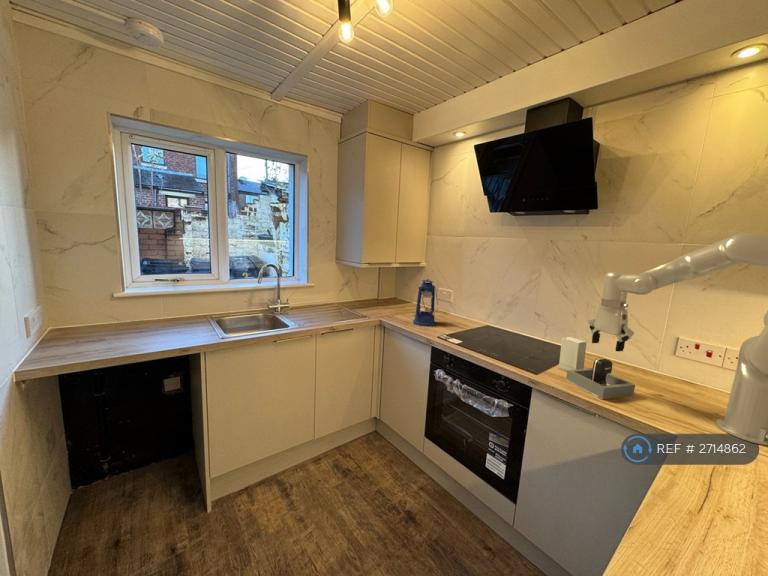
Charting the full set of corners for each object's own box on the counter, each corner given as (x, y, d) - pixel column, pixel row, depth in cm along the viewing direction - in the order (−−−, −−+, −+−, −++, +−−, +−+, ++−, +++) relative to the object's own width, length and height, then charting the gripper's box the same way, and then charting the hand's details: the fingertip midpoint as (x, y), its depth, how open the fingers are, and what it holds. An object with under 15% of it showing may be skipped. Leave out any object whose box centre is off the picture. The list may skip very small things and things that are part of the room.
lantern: (424, 319, 218) (427, 277, 214) (441, 324, 207) (445, 280, 202) (407, 322, 207) (410, 278, 202) (423, 327, 196) (427, 281, 191)
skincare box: (583, 373, 137) (588, 341, 135) (574, 375, 135) (580, 343, 133) (565, 366, 145) (570, 335, 143) (557, 367, 142) (561, 337, 140)
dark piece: (598, 390, 120) (603, 362, 119) (589, 385, 124) (593, 358, 122) (610, 387, 123) (615, 360, 121) (600, 383, 126) (605, 357, 125)
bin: (633, 395, 119) (635, 384, 118) (602, 399, 114) (604, 388, 113) (594, 377, 134) (596, 367, 133) (565, 380, 129) (567, 370, 128)
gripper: (644, 308, 111) (637, 353, 114) (599, 300, 128) (593, 339, 130) (629, 309, 109) (622, 355, 112) (585, 300, 126) (579, 340, 128)
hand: (606, 346), depth 121 cm, fingers open, 9 cm apart
